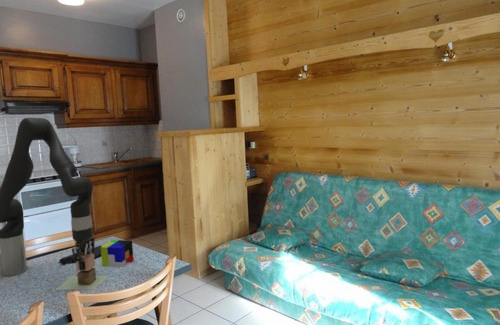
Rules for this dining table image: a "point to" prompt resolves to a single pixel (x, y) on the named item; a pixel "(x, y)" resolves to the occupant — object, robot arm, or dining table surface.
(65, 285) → the build board
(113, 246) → the puzzle toy
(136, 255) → the dining table surface
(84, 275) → the walnut block
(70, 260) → the dark slate chunk
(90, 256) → the terracotta block
